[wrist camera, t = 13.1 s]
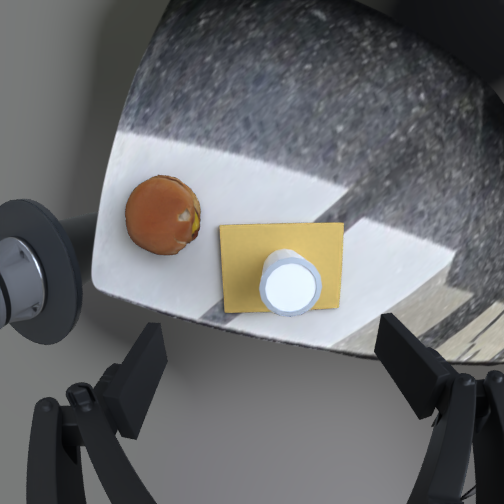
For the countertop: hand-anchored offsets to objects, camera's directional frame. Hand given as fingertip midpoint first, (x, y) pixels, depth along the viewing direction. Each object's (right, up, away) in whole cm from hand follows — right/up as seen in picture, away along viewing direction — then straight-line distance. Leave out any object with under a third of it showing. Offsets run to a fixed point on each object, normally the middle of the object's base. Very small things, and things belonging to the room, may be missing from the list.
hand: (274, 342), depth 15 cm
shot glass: (+3, +3, +21) cm, 22 cm away
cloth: (+3, +3, +22) cm, 22 cm away
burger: (-12, +10, +20) cm, 26 cm away
